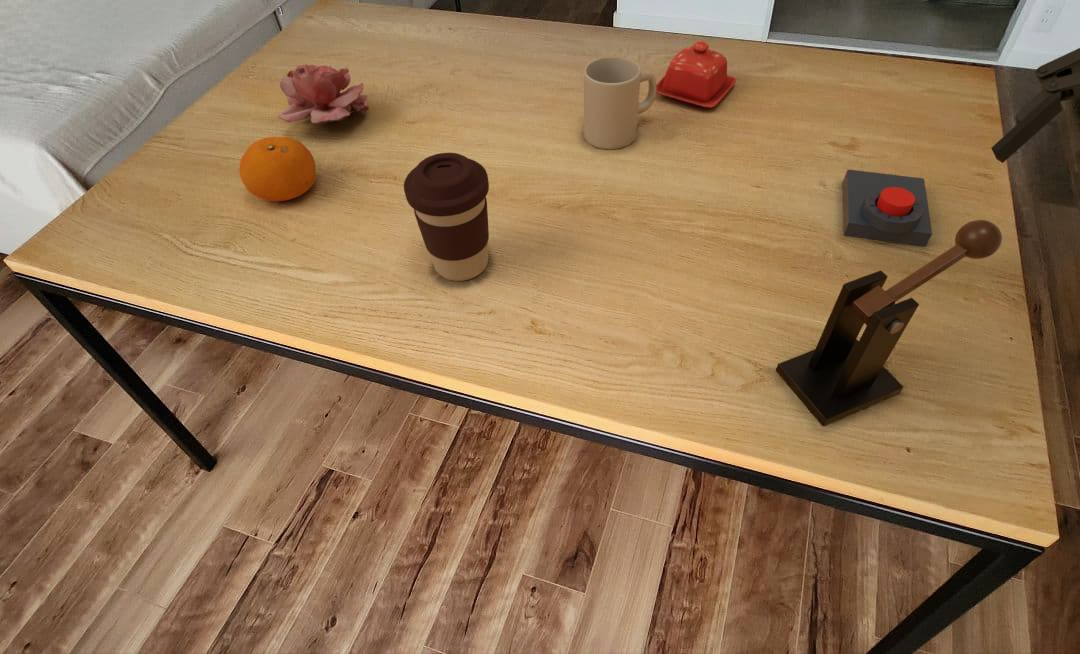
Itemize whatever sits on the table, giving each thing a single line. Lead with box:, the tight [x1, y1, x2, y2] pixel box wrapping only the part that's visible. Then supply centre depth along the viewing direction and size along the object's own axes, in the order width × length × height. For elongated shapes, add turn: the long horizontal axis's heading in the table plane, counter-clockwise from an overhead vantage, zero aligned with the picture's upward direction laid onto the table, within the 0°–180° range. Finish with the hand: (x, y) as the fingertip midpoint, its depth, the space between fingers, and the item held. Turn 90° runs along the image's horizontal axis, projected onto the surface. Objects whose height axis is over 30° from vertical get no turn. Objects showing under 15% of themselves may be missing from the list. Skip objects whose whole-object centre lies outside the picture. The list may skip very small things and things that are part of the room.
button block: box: [842, 168, 933, 247], centre depth 86 cm, size 13×10×4 cm
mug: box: [582, 56, 657, 150], centre depth 100 cm, size 12×8×11 cm
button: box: [877, 187, 915, 217], centre depth 82 cm, size 4×4×2 cm
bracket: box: [775, 270, 920, 427], centre depth 65 cm, size 10×8×14 cm
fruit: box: [238, 136, 317, 202], centre depth 95 cm, size 10×10×8 cm
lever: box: [853, 219, 1003, 326], centre depth 60 cm, size 14×4×4 cm, turn 113°
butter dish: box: [656, 40, 737, 109], centre depth 108 cm, size 12×12×8 cm
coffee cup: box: [403, 152, 490, 282], centre depth 80 cm, size 10×10×15 cm
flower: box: [278, 63, 370, 124], centre depth 107 cm, size 15×15×10 cm
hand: (1057, 194), depth 59 cm, fingers open, 13 cm apart
